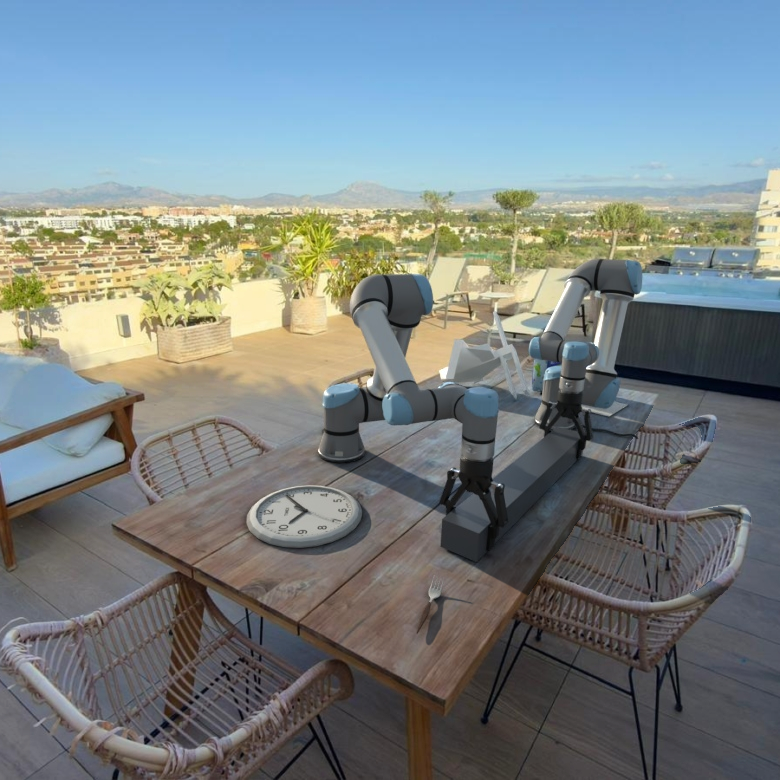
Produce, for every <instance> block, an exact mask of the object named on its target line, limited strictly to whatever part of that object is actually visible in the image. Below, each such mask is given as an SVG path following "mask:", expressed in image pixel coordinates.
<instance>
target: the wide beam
mask: <svg viewBox="0 0 780 780" xmlns="http://www.w3.org/2000/svg"><path fill="white" fill-rule="evenodd" d="M550 431H551V432H550V433H549V434H548V435H546V436H545V437H544V436H543V438H541V439H539V440H538V441H537V442H536V443H535V444H534V445H532V446H531V447H530V448H529V449H528V450H526V451H525V452H523V453H522V454H521V455H520V456H518V457H517V458H516V459H515V460H514V461H512V462H511V463H510V464H509V465H507V467H505V468H504V469H503V470H500V472H499V473H497V474H496V475H495V476H493V477H492V479H493V482H496V483H498V484H500V483H504V485H505V488H504V498H505V504H506V510H507V515H508V523H507V524H506V525H505V526H504V527H503V528H502V527H500V529H499V535H498V537H497V538H496V539H495V544H496V543H497V542H498V541H499V540H500V539H501V538H502V537H503V536H504V535H505V534H506V533H507V532H509V530H510V529H511V528H512V527H513V526H514V525H515V524H516V523H517V522H518V521H519V520H520V519H521V518H522V517H523V516H524V515H525V514H526V513H527V512H528V511H529V510H530V509H531V508H532V507H533V506H534V505H535V504H536V503H537V501H539V500H540V499H541V498H542V497H543V495H544V494H545V493H547V491H548V490H549V489H550V488H551V487H552V486H553V485H554V484H555V483H556V482H557V481H558V480H559V479H560V478H561V477H562V476H563V475H564V474H565V473H566V472H567V471H568V470H569V469H570V468H571V467H572V466H573V465H574V464H575V463H576V462H577V460H578V459H576V456H577V448H578V441H579V440H580V439H581V438H580V436H579V433H578V431H577V430H574V429H572V430H569V429H564V428H560V427H556V428H555V429H554V430H550ZM583 454H584V450H582V453H581V456H582V455H583ZM489 489H490V491H491V497H492V500H493V502H494V505H495V507H496V504H495V499H494V493H493V489H492V487H490V488H489ZM484 493H485V492H484ZM455 507H456V508H455V509H454V510H453V511H451V512H450V513H449V514H448V515H446V514H445V516H444V517H442V518H441V528H440V529H441V530H440V531H441V532H440V547H441V548H442V549H444V550H447V551H449V552H452V553H455V554H456V555H459V556H461V557H463V558H466V559H469V560H470V561H473V562H474V563H475V562H476V563H478V562H479V561H480V559H482V558H483V557H484V555H486V553H488V551H487V550H486V547H487V536H488V526H489V525H490V524H491V522H490V520H489V517H488V515H487V512H486V510H485V507H484V505H483V502H482V500H480V498H479V496H478V495H475V494H474V493H472V494H471V495H470V496H468V497H467V498H466V499H465V500H463V501H462V502H461V503H460V504H459V505H457V506H455Z"/></svg>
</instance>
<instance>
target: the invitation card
mask: <svg viewBox="0 0 780 780" xmlns="http://www.w3.org/2000/svg"><path fill="white" fill-rule="evenodd" d="M581 405H582V404H581ZM628 406H629V404H627V403H623V402H618V401H614V403H613V404H612V405H611V407H609V408H607V409H603V408H595V407H592V406H587V405H582V409H586V410H588V409H590V410H591V414H592V413H593V414H596V415H600V416H604V417H608V418H609V417H611V416H613V415H614V414H616V413H617V412H619V411H621V410H623V409H624V408H626V407H628Z"/></svg>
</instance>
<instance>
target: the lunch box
mask: <svg viewBox="0 0 780 780" xmlns="http://www.w3.org/2000/svg"><path fill="white" fill-rule="evenodd" d="M553 366H562V363H559V362H553V361H546V360H540V359H535V358H533V365H532V376H531V377H532V378H531V390H532V391H533V392H537V393H542V391H543V381H544V380H543V379H544V375H545V371H546V369H548V368H550V367H553Z"/></svg>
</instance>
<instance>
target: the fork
mask: <svg viewBox="0 0 780 780" xmlns="http://www.w3.org/2000/svg"><path fill="white" fill-rule="evenodd" d="M438 577H439V576H438V575H437V576H436V579H435V574H433V578H432V580H431V584H430V587H429V589H428V596H429V598H430V599H429V601H428V603H427V604H426V605H425V607H424V609H423V610H422V613H421V616H420V620H419V624H418V625H417V630H416V634H417V635H418V634H419V632H420V630H421V628H422V626H423V625H424V623H425V622H426V620H427V618H428V616H429V613H430V610H431V606H432V603H433V600H435V599H437V598H439V597H441V595H442V591H443V586H444V581H445V578H443V579H442V576H440V577H439V581H438ZM434 580H435V582H434ZM441 580H442V582H441ZM437 582H438V584H437ZM440 584H441V585H440Z"/></svg>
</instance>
